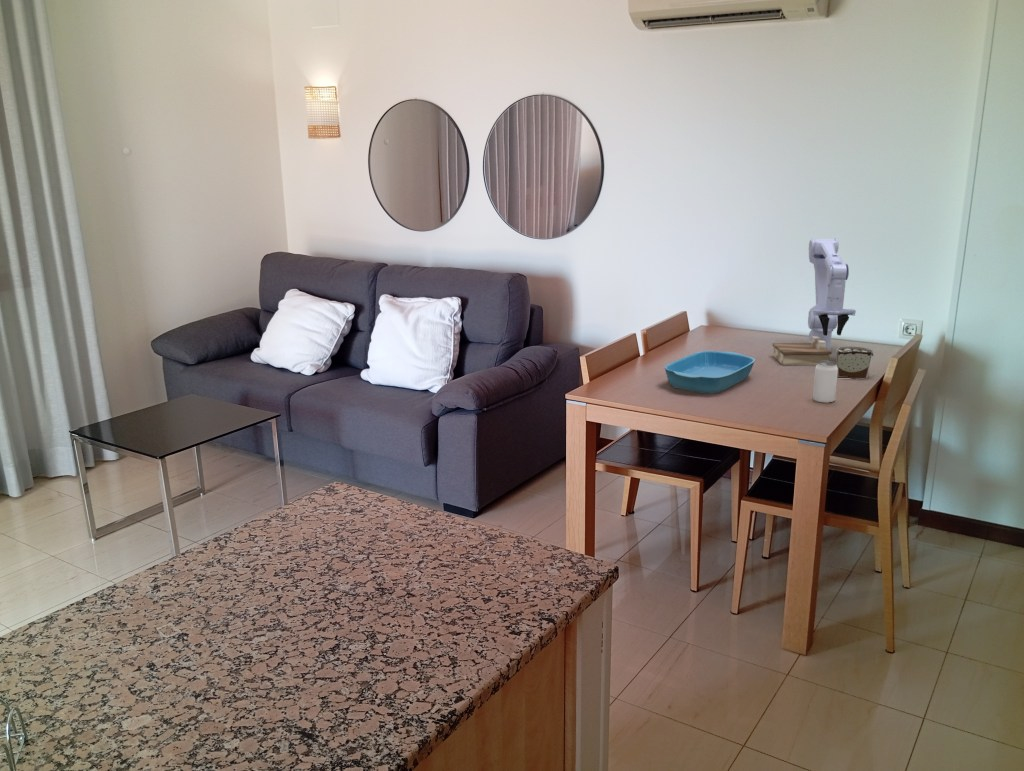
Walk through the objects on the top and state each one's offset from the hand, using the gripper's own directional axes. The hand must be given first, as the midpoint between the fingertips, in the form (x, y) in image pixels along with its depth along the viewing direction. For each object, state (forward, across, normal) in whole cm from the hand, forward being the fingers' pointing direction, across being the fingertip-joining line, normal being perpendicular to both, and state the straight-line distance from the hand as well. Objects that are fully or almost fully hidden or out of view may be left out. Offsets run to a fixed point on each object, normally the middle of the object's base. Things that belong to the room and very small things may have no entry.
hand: (831, 335), depth 292 cm
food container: (+11, 0, -19) cm, 22 cm away
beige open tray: (+10, -10, 0) cm, 15 cm away
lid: (+6, -10, 0) cm, 12 cm away
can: (+11, -18, -47) cm, 51 cm away
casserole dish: (+11, -48, -25) cm, 56 cm away
